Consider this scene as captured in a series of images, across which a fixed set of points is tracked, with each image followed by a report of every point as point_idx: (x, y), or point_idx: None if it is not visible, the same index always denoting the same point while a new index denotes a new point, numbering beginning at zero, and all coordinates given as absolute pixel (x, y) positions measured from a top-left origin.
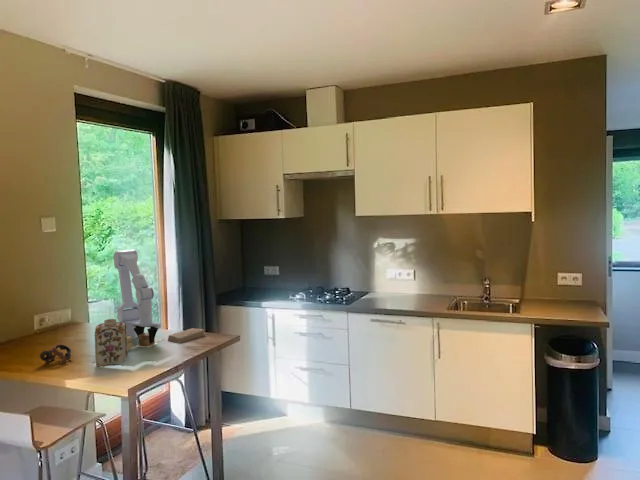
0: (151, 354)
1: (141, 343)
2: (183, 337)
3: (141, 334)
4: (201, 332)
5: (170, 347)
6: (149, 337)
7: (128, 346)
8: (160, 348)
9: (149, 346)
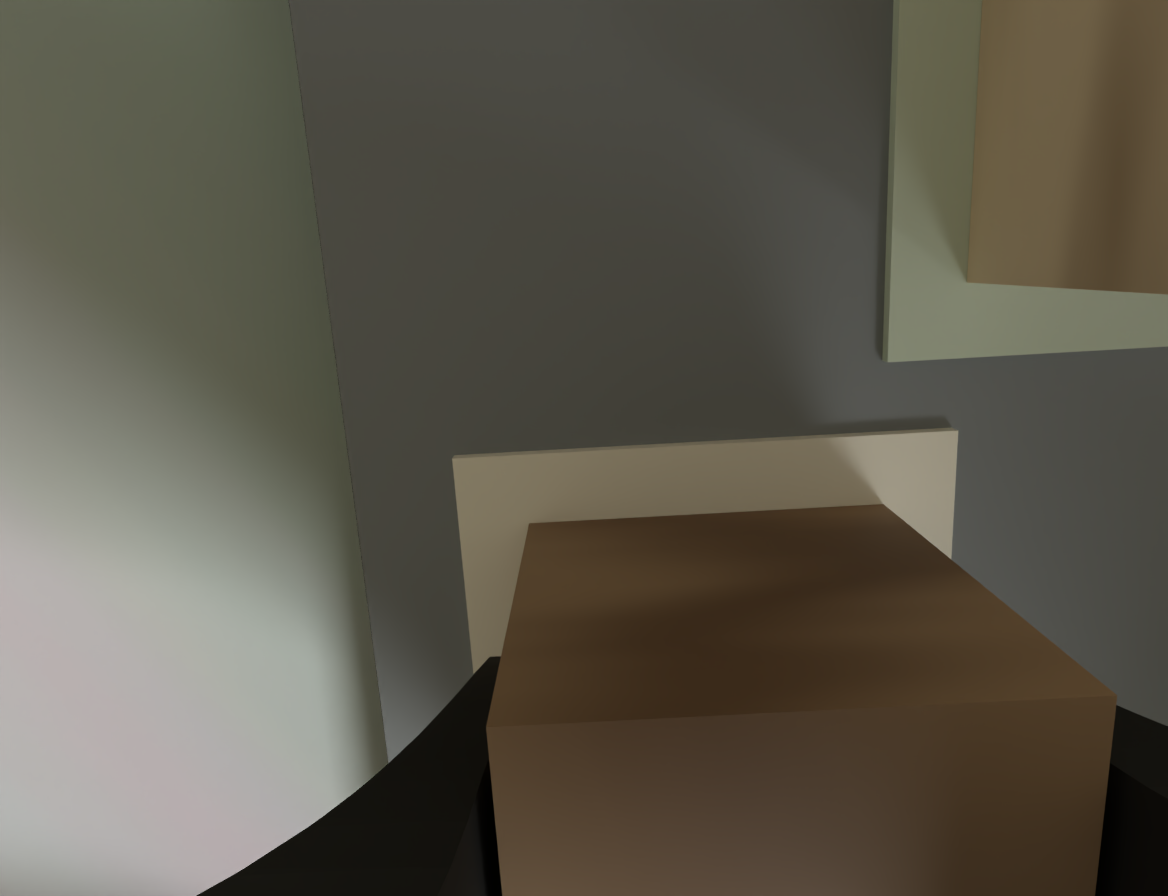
0: (70, 101)
1: (796, 537)
2: None
3: (997, 824)
4: None
5: (108, 819)
6: (482, 753)
7: (1032, 17)
8: (286, 677)
9: (485, 536)
